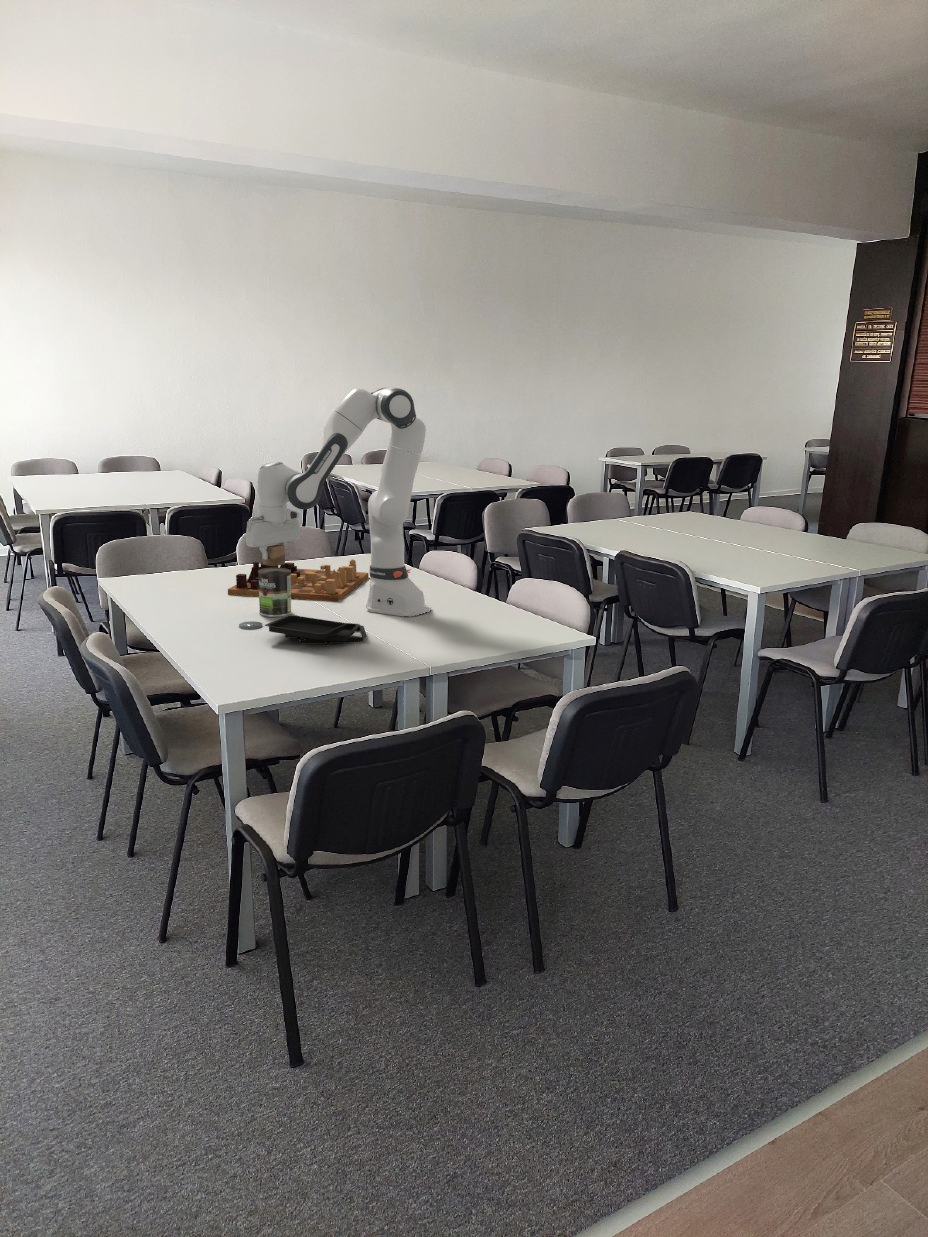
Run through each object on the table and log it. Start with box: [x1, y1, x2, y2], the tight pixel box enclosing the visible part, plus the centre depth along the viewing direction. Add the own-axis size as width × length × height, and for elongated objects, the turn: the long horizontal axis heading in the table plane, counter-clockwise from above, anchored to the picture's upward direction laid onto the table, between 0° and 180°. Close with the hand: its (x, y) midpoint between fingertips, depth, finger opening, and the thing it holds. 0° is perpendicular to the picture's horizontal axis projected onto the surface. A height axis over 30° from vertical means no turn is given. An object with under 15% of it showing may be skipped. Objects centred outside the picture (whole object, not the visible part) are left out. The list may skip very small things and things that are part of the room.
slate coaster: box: [238, 621, 263, 630], centre depth 273 cm, size 7×7×1 cm
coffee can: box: [258, 567, 292, 618], centre depth 288 cm, size 10×10×14 cm
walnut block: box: [261, 543, 286, 567], centre depth 285 cm, size 5×5×6 cm
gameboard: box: [227, 558, 369, 602], centre depth 328 cm, size 40×40×9 cm
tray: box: [264, 614, 368, 645], centre depth 260 cm, size 30×23×5 cm
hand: (273, 557), depth 285 cm, fingers closed on walnut block, 5 cm apart
